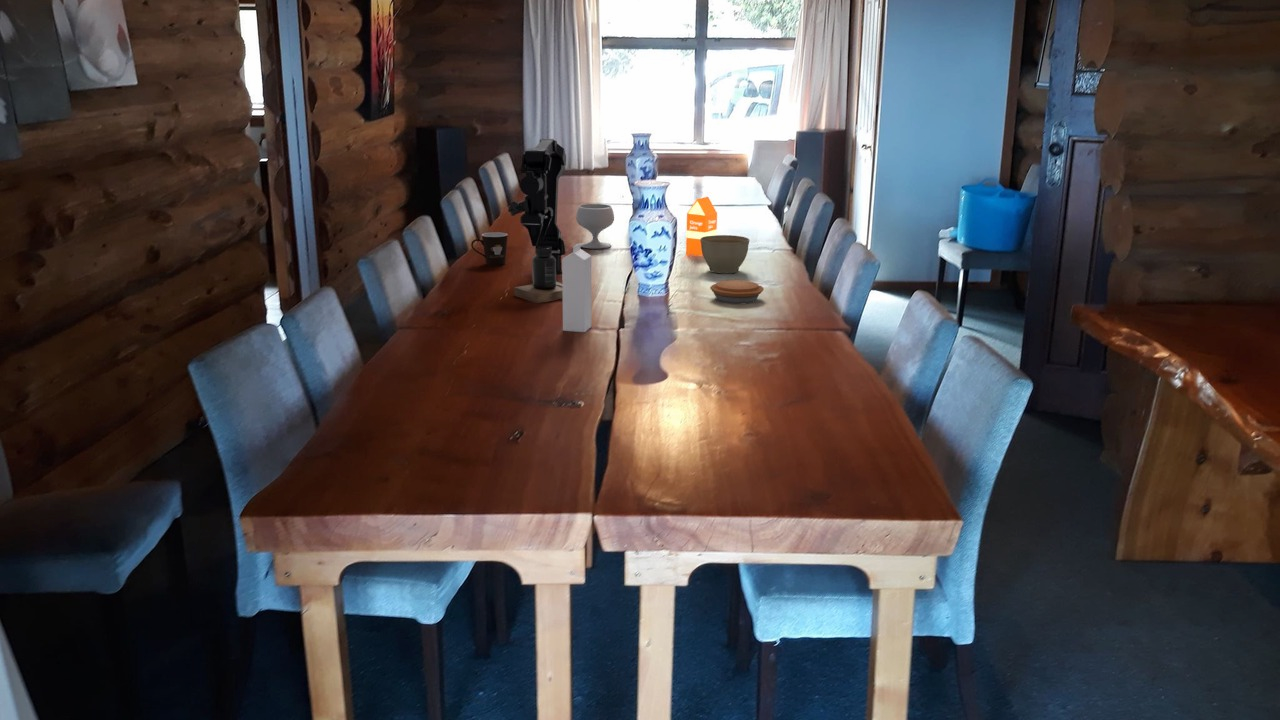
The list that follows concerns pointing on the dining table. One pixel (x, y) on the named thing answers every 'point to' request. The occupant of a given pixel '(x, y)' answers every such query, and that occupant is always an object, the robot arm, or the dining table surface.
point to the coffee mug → (493, 248)
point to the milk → (576, 290)
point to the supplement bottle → (544, 268)
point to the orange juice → (700, 224)
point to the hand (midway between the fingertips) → (537, 243)
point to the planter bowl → (724, 252)
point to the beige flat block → (539, 293)
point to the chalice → (595, 222)
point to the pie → (736, 291)
